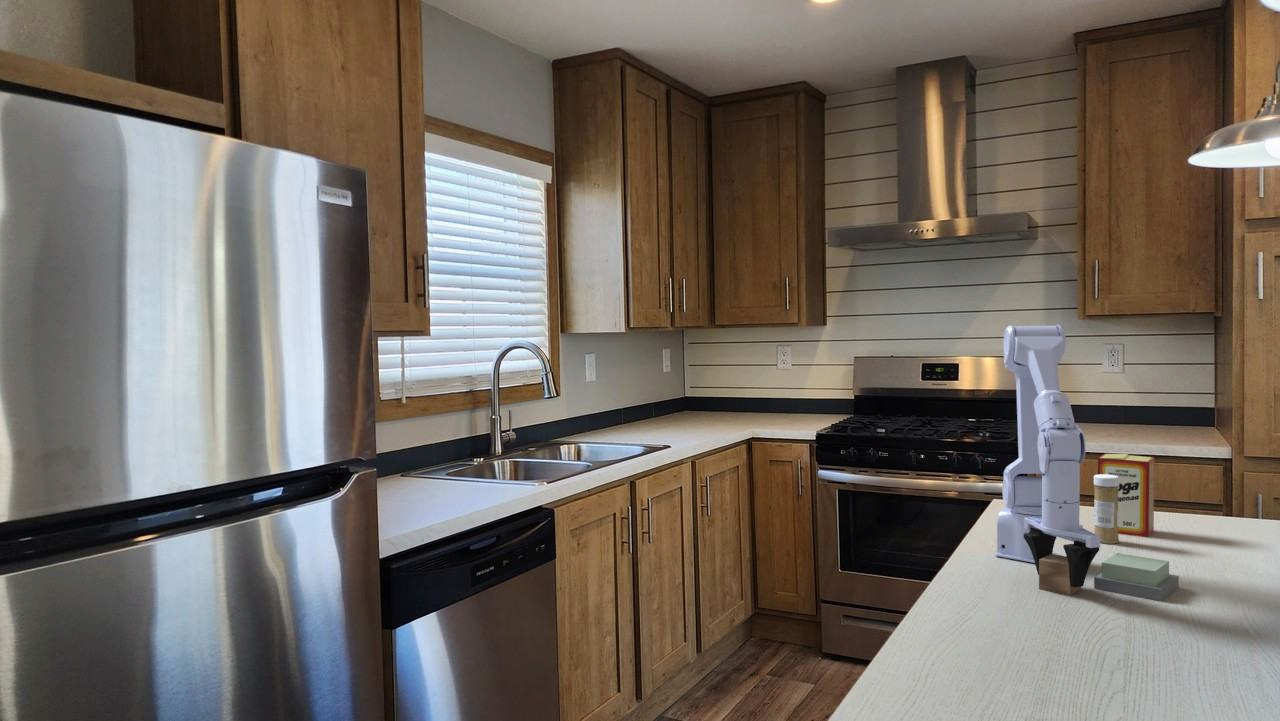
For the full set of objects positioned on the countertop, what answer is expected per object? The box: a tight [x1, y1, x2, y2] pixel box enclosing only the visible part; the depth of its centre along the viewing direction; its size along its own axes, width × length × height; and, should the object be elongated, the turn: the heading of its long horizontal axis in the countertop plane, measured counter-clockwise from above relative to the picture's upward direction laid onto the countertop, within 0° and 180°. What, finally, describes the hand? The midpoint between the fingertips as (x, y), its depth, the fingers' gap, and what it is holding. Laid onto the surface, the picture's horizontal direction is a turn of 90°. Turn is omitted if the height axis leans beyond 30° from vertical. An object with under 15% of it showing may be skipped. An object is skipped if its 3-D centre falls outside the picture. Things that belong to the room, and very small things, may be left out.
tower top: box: [1101, 552, 1170, 586], centre depth 149 cm, size 8×8×2 cm
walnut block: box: [1038, 554, 1082, 596], centre depth 149 cm, size 5×5×5 cm
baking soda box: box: [1097, 453, 1155, 538], centre depth 188 cm, size 10×6×16 cm
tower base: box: [1093, 572, 1180, 602], centre depth 149 cm, size 10×10×2 cm
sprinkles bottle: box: [1093, 473, 1120, 545], centre depth 179 cm, size 5×5×13 cm
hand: (1060, 580), depth 149 cm, fingers closed on walnut block, 7 cm apart
